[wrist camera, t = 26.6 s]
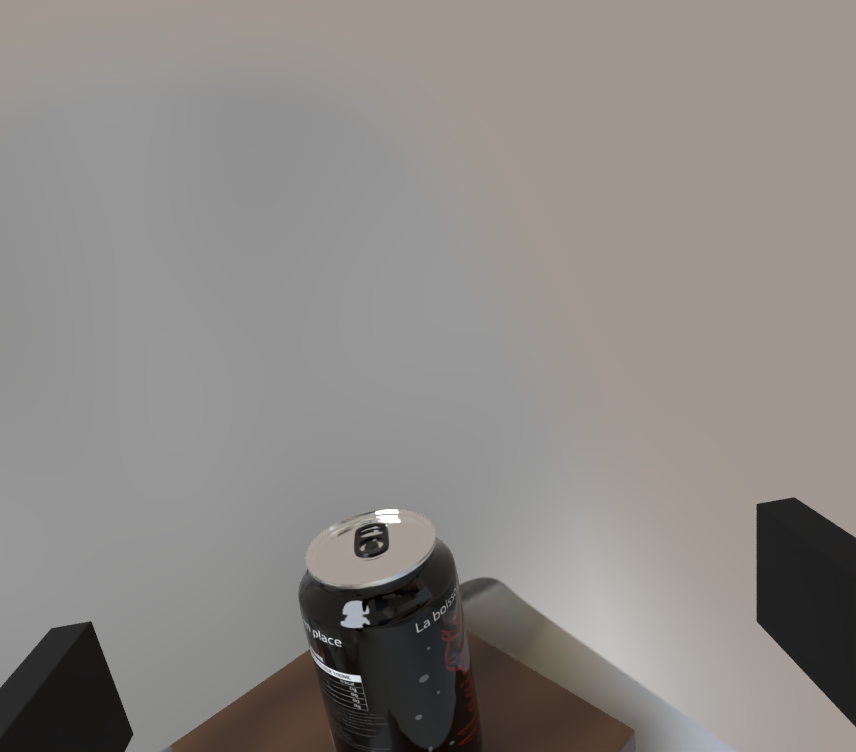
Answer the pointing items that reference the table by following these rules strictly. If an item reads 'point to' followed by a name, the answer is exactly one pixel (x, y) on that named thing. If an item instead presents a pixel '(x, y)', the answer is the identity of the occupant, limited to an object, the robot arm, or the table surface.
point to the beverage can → (389, 636)
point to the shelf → (497, 701)
